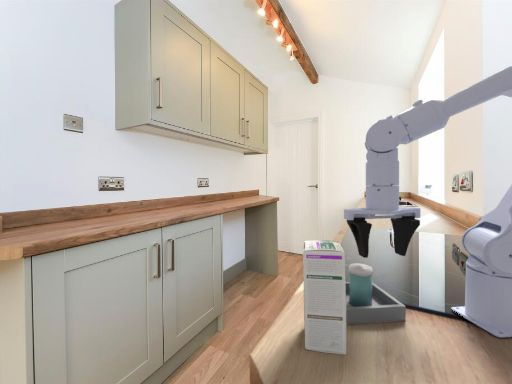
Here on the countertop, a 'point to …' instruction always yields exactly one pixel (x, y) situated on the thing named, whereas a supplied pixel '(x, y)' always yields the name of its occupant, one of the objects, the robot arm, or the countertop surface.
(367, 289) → the shaker
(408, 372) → the countertop surface
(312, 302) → the syrup box
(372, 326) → the countertop surface
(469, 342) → the countertop surface
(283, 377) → the countertop surface
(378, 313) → the tray
